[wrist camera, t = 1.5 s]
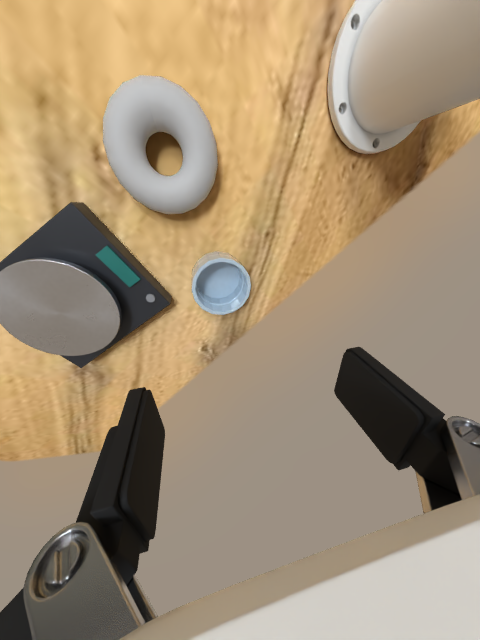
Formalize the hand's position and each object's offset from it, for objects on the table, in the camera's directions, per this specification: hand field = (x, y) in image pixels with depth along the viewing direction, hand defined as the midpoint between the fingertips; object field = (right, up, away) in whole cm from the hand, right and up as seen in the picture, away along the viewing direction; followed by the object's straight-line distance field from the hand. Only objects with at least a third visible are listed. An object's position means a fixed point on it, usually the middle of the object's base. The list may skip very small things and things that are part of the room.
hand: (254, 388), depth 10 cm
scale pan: (-19, +4, +12) cm, 23 cm away
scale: (-19, +7, +15) cm, 26 cm away
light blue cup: (-4, +9, +18) cm, 20 cm away
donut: (-8, +20, +11) cm, 24 cm away
